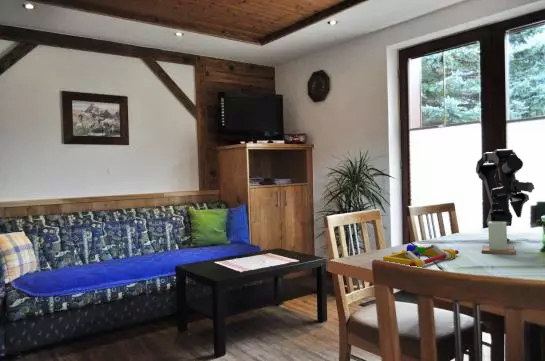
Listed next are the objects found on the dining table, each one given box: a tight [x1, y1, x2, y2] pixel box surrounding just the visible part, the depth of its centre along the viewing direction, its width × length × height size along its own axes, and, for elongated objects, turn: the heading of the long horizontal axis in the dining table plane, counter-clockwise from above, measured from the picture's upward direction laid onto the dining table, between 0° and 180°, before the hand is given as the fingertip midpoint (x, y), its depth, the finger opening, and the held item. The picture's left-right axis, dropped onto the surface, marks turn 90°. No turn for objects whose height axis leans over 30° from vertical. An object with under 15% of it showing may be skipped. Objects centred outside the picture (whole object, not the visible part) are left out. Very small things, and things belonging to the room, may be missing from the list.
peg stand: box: [481, 245, 516, 256], centre depth 162 cm, size 11×11×5 cm
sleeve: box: [487, 222, 508, 250], centre depth 161 cm, size 5×6×10 cm
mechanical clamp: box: [382, 243, 460, 268], centre depth 154 cm, size 18×6×30 cm
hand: (513, 215), depth 167 cm, fingers open, 9 cm apart
